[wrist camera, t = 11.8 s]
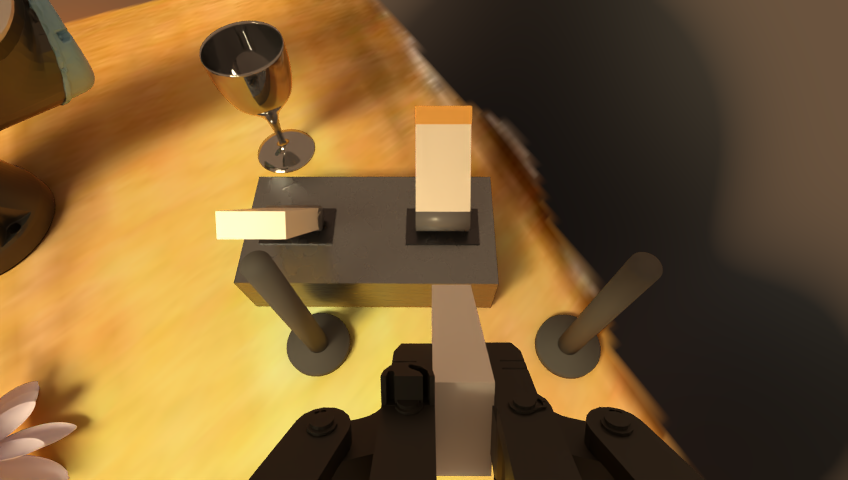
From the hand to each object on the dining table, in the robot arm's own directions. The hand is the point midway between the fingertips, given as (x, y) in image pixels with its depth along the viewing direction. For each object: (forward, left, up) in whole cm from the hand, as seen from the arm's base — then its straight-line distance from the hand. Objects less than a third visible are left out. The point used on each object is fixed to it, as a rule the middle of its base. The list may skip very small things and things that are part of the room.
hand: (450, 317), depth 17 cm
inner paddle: (-21, -3, -19) cm, 29 cm away
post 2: (+1, +14, -26) cm, 29 cm away
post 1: (-11, -7, -26) cm, 29 cm away
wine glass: (-36, 0, -26) cm, 45 cm away
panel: (-17, +3, -26) cm, 31 cm away
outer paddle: (-13, +8, -19) cm, 24 cm away
